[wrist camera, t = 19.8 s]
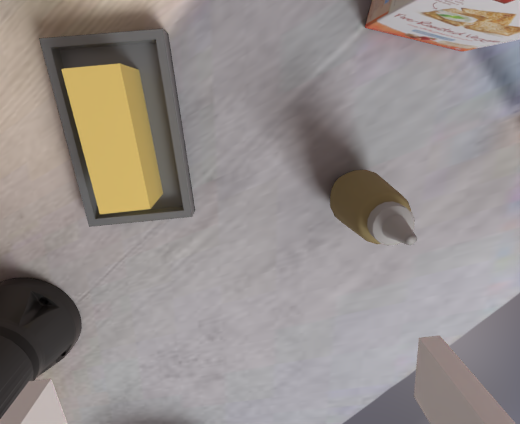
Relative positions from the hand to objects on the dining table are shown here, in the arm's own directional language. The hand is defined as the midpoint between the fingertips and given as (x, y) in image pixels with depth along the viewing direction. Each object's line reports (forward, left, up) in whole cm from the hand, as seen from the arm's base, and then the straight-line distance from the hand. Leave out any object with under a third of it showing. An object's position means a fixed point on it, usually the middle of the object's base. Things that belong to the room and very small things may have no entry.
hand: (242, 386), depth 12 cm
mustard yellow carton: (-14, +7, -36) cm, 39 cm away
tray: (-14, +7, -37) cm, 40 cm away
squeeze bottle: (+16, -4, -37) cm, 40 cm away
